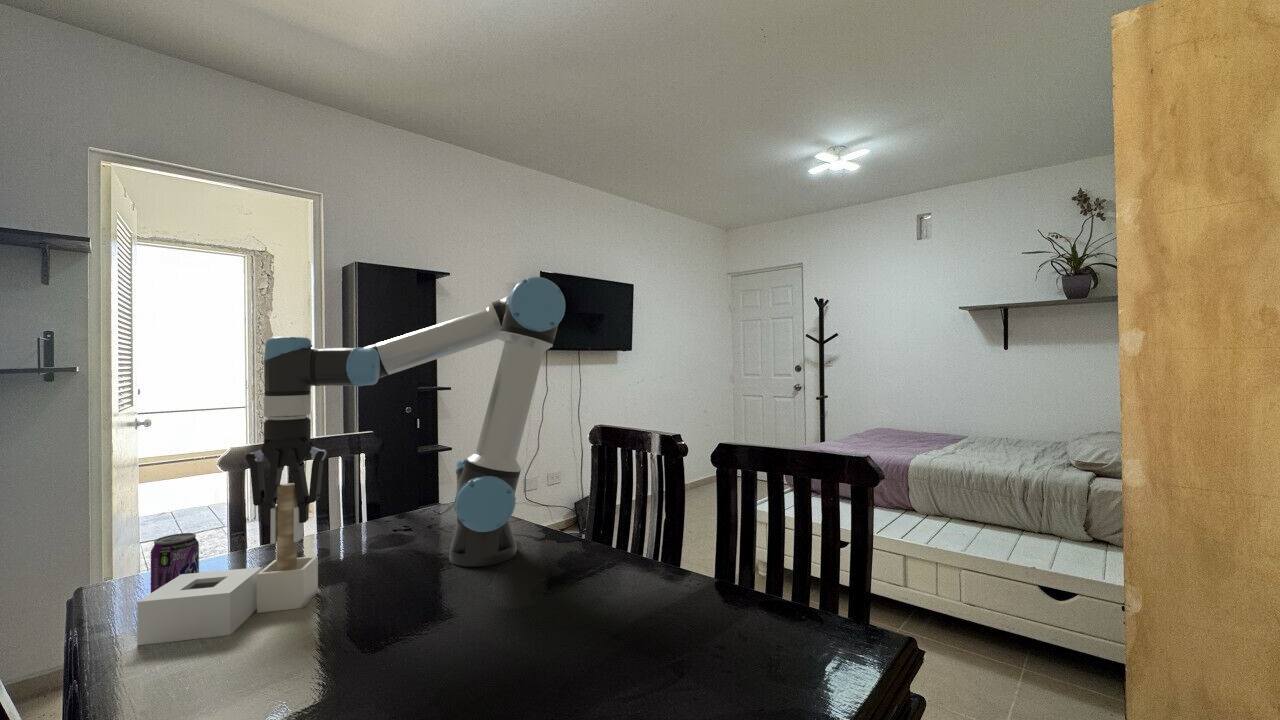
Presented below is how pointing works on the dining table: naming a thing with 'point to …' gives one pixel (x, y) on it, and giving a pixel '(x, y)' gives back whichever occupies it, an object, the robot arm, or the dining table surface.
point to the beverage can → (173, 558)
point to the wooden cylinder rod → (286, 527)
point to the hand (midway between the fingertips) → (287, 540)
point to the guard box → (197, 606)
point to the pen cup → (287, 585)
